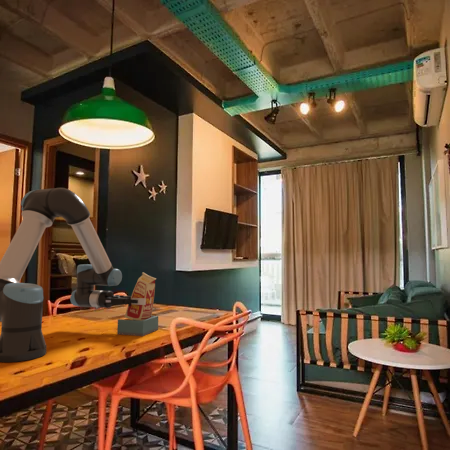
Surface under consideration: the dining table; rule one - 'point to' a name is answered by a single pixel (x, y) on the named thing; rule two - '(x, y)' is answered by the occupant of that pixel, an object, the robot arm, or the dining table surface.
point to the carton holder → (137, 326)
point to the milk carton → (142, 290)
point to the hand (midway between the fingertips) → (147, 301)
